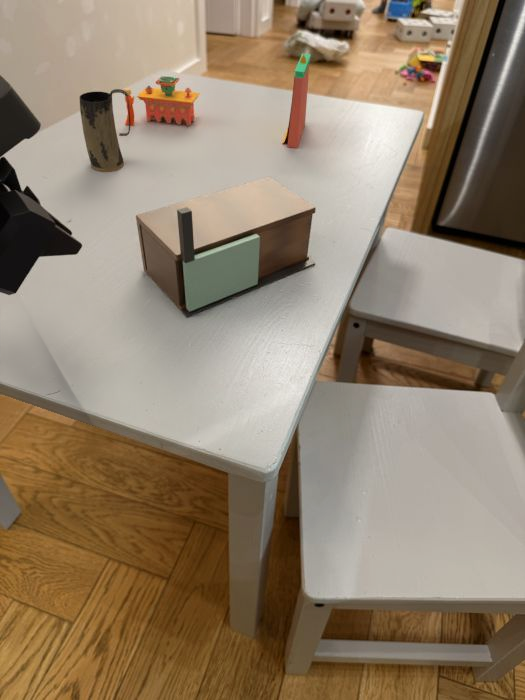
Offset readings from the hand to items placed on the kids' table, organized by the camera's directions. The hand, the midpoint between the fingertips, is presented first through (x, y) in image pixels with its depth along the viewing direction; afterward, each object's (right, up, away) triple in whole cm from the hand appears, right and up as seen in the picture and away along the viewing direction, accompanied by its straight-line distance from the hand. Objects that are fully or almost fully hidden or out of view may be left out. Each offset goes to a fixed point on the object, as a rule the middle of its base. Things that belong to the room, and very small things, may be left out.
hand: (74, 242), depth 45 cm
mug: (-9, +22, +41) cm, 48 cm away
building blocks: (+8, +36, +56) cm, 67 cm away
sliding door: (+12, -3, +16) cm, 21 cm away
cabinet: (+13, +2, +22) cm, 25 cm away
